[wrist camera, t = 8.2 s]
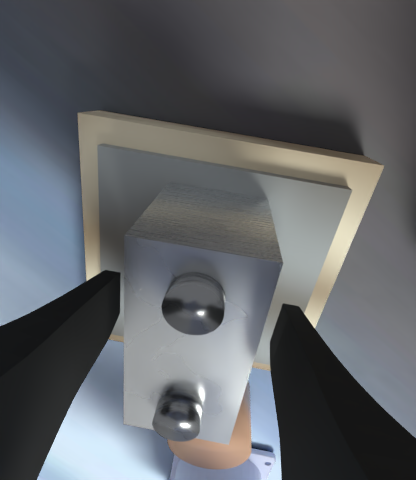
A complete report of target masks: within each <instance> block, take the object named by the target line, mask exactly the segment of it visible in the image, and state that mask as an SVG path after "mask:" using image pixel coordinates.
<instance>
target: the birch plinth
mask: <svg viewBox="0 0 416 480" xmlns="http://www.w3.org/2000/svg"><path fill="white" fill-rule="evenodd" d="M78 131H79V150H80V169H81V187H82V206H83V225H84V244H85V262H86V281H88V280H89V279H91V278H92V277H94V276H96V275H97V274H99V273H101V272H102V271H104V270H109V271H115V272H120V273H121V280H120V314H119V317H118V319H117V322H116V324H115V326H114V328H113V331H112V333H111V335H110V337H109V339H110V340H115V341H120V342H124V235H125V234H126V233H127V232H128V231H129V229H130V228H131V227H132V226H133V225H134V223H135V222H136V221H137V220H138V219H139V217H140V216H141V215H142V214H143V213H144V211H145V210H146V209H147V208H148V207H149V206H150V204H151V203H152V202H153V201H154V200H155V198H156V197H157V196H158V195H159V194H160V192H161V191H162V190H163V189H164V188H165V186H166V185H167V184H168V183H169V182H173V183H179V184H185V185H191V186H197V187H203V188H209V189H215V190H221V191H227V192H233V193H239V194H246V195H252V196H258V197H264V198H268V201H269V205H270V209H271V214H272V218H273V222H274V226H275V230H276V235H277V239H278V243H279V247H280V251H281V256H282V260H283V266H282V269H281V272H280V275H279V279H278V282H277V285H276V289H275V292H274V295H273V299H272V302H271V305H270V309H269V312H268V315H267V319H266V322H265V325H264V329H263V332H262V335H261V339H260V342H259V345H258V349H257V352H256V355H255V359H254V362H253V365H252V367H253V368H258V369H263V370H269V371H271V370H270V340H271V337H272V334H273V331H274V328H275V325H276V322H277V319H278V316H279V313H280V310H281V307H282V304H283V303H285V304H290V305H295V306H299V307H300V308H301V310H302V311H303V313H304V314H305V315H306V317H307V318H308V320H309V321H310V323H311V324H312V325H313V327H314V328H315V327H316V324H317V322H318V320H319V317H320V315H321V313H322V310H323V308H324V306H325V303H326V301H327V299H328V296H329V294H330V292H331V289H332V287H333V285H334V282H335V280H336V278H337V275H338V273H339V271H340V268H341V266H342V264H343V261H344V259H345V257H346V254H347V252H348V250H349V247H350V245H351V243H352V240H353V238H354V236H355V233H356V231H357V228H358V226H359V224H360V221H361V219H362V217H363V214H364V212H365V210H366V207H367V205H368V203H369V200H370V198H371V196H372V193H373V191H374V189H375V186H376V184H377V182H378V179H379V177H380V175H381V172H382V170H383V168H384V165H382V164H380V163H378V162H376V161H374V160H372V159H370V158H368V157H366V156H363V155H357V154H351V153H345V152H339V151H334V150H328V149H322V148H316V147H310V146H305V145H299V144H293V143H287V142H281V141H276V140H270V139H264V138H258V137H252V136H247V135H241V134H235V133H229V132H223V131H218V130H212V129H206V128H200V127H194V126H189V125H183V124H177V123H171V122H165V121H160V120H154V119H148V118H142V117H136V116H131V115H125V114H119V113H113V112H107V111H102V110H97V111H89V112H80V113H78Z"/></svg>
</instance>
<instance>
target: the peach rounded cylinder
mask: <svg viewBox="0 0 416 480" xmlns="http://www.w3.org/2000/svg"><path fill="white" fill-rule="evenodd" d="M167 441H168V445H169V448H170V449H171V451H172V452H173V453H174V454H175V455H176V456H177V457H178V458H180V459H181V460H183V461H185V462H187V463H189V464H191V465H194V466H197V467H201V468H206V469H229V468H233V467H236V466H239V465H241V464H242V463H244V462H245V461H246V460H247V459H248V458H249V456H250V454H251V410H250V385H249V382H247V385H246V389H245V392H244V395H243V399H242V402H241V405H240V409H239V412H238V415H237V419H236V422H235V425H234V428H233V432H232V435H231V438H230V442H229V445H227V444H222V443H217V442H212V441H207V440H202V439H197V438H194V439H192V440H190V441H184V442H179V441H172V440H169V439H167Z"/></svg>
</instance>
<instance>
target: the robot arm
mask: <svg viewBox="0 0 416 480" xmlns="http://www.w3.org/2000/svg"><path fill="white" fill-rule="evenodd" d="M120 280H121V273H120V272H115V271H109V270H104V271H102V272H101V273H99V274H97V275H96V276H94V277H92V278H91V279H89V280H88V281H86V282H84V283H83V284H81V285H79V286H78V287H76V288H74V289H73V290H71V291H69V292H68V293H66V294H64V295H63V296H61V297H59V298H57V299H55V300H54V301H52V302H50V303H48V304H46V305H44V306H42V307H41V308H39V309H37V310H35V311H33V312H31V313H29V314H27V315H25V316H23V317H21V318H18V319H16V320H14V321H12V322H9V323H7V324H5V325H3V326H0V480H37V478H38V476H39V473H40V471H41V469H42V466H43V464H44V462H45V459H46V457H47V455H48V453H49V450H50V448H51V446H52V444H53V442H54V439H55V437H56V435H57V433H58V431H59V428H60V426H61V424H62V422H63V420H64V418H65V416H66V414H67V411H68V409H69V407H70V405H71V403H72V401H73V399H74V397H75V395H76V393H77V392H78V390H79V388H80V386H81V385H82V383H83V381H84V379H85V378H86V376H87V374H88V373H89V371H90V369H91V368H92V366H93V364H94V363H95V361H96V359H97V358H98V356H99V354H100V353H101V351H102V349H103V347H104V346H105V344H106V342H107V341H108V339H109V337H110V335H111V333H112V331H113V328H114V326H115V324H116V322H117V319H118V317H119V314H120ZM270 370H271V377H272V385H273V392H274V399H275V406H276V413H277V420H278V427H279V437H280V451H281V471H282V480H416V438H415V437H414V436H412V435H411V434H410V433H409V432H408V431H407V430H406V429H405V428H404V427H402V426H401V425H400V424H399V423H398V422H397V421H396V420H395V419H394V418H393V417H392V416H391V415H389V414H388V413H387V412H386V411H385V410H384V409H383V408H382V407H381V406H380V405H379V404H378V403H377V402H376V401H375V400H374V399H373V398H372V397H371V396H370V395H369V394H368V393H367V392H366V390H365V389H364V388H363V387H362V386H361V385H360V384H359V383H358V382H357V381H356V380H355V379H354V378H353V376H352V375H351V374H350V373H349V372H348V371H347V369H346V368H345V367H344V366H343V365H342V363H341V362H340V361H339V360H338V359H337V357H336V356H335V355H334V354H333V352H332V351H331V350H330V348H329V347H328V346H327V345H326V343H325V342H324V341H323V339H322V338H321V337H320V335H319V334H318V332H317V331H316V330H315V328H314V327H313V325H312V324H311V323H310V321H309V320H308V318H307V317H306V315H305V314H304V313H303V311H302V310H301V308H300V307H299V306H295V305H290V304H285V303H283V304H282V307H281V310H280V313H279V316H278V319H277V322H276V325H275V328H274V331H273V334H272V337H271V340H270ZM275 461H276V457H275V454H274V453H272V452H268V451H263V450H258V449H253V448H251V454H250V456H249V458H248V459H247V460H246V461H245V462H244V463H242V464H241V465H239V466H236V467H233V468H229V469H206V468H201V467H197V466H194V465H191V464H189V463H187V462H185V461H183V460H181V459H180V458H178V457H177V456H176V455H175V454H174V458H173V464H172V470H171V475H170V480H267V478H268V476H269V474H270V472H271V470H272V468H273V466H274V463H275Z"/></svg>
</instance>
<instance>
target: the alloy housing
mask: <svg viewBox="0 0 416 480" xmlns="http://www.w3.org/2000/svg"><path fill="white" fill-rule="evenodd" d="M282 266H283V260H282V256H281V251H280V247H279V243H278V239H277V235H276V230H275V226H274V222H273V218H272V214H271V209H270V205H269V201H268V198H264V197H258V196H252V195H246V194H239V193H233V192H227V191H221V190H215V189H209V188H203V187H197V186H191V185H185V184H179V183H173V182H169V183H168V184H167V185H166V186H165V188H164V189H163V190H162V191H161V192H160V194H159V195H158V196H157V197H156V198H155V200H154V201H153V202H152V203H151V204H150V206H149V207H148V208H147V209H146V210H145V211H144V213H143V214H142V215H141V216H140V217H139V219H138V220H137V221H136V222H135V223H134V225H133V226H132V227H131V228H130V229H129V231H128V232H127V233H126V234H125V235H124V422H123V424H125V425H130V426H135V427H140V428H146V429H151V430H155V431H156V432H157V433H158V434H159V435H160V436H162V437H164V438H166V439H169V440H172V441H179V442H184V441H190V440H192V439H194V438H197V439H202V440H207V441H212V442H217V443H222V444H227V445H229V442H230V438H231V435H232V432H233V428H234V425H235V422H236V419H237V415H238V412H239V409H240V405H241V402H242V399H243V395H244V392H245V389H246V385H247V382H248V379H249V375H250V372H251V369H252V365H253V362H254V359H255V355H256V352H257V349H258V345H259V342H260V339H261V335H262V332H263V329H264V325H265V322H266V319H267V315H268V312H269V309H270V305H271V302H272V299H273V295H274V292H275V289H276V285H277V282H278V279H279V275H280V272H281V269H282Z"/></svg>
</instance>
